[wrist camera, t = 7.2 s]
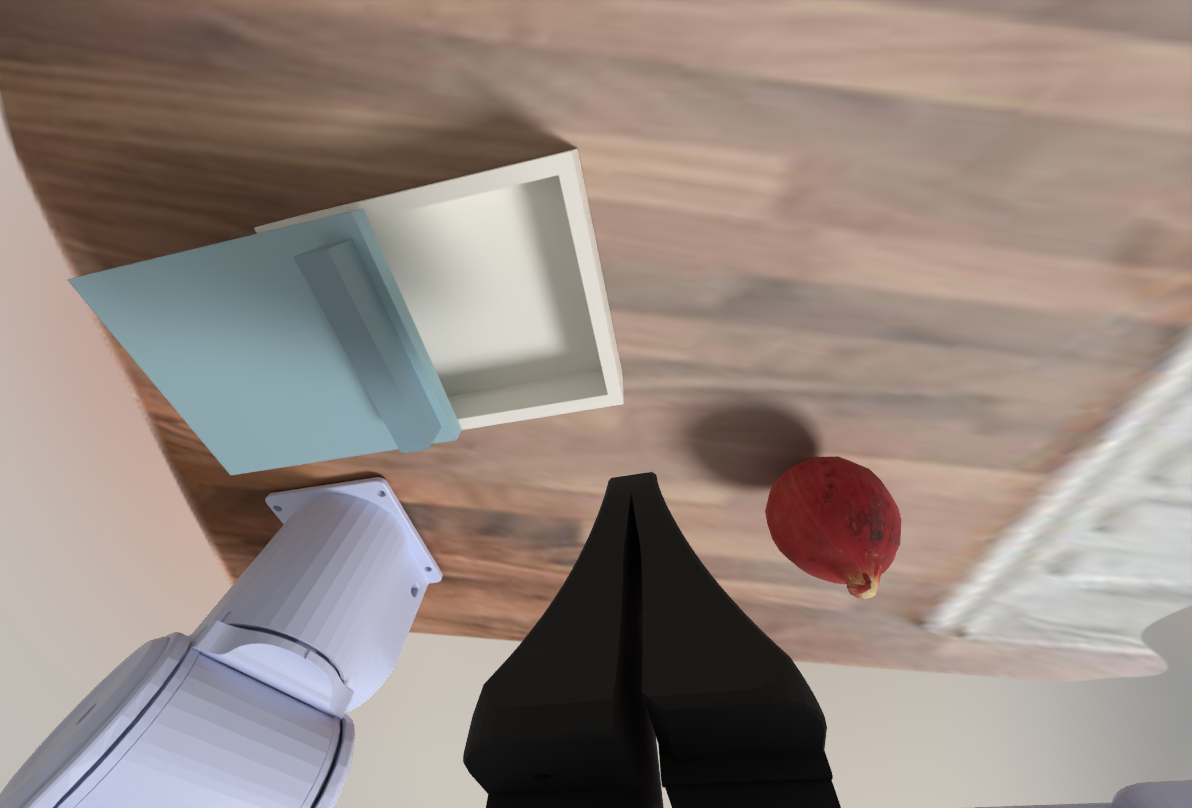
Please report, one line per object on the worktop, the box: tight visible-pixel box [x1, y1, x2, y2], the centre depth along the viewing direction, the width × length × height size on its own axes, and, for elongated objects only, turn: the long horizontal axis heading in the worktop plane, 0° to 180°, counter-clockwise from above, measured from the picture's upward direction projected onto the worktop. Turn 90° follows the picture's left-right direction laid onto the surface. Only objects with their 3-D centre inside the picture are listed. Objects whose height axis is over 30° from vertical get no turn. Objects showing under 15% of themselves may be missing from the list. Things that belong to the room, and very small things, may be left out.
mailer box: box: [254, 148, 624, 430], centre depth 19 cm, size 10×12×3 cm
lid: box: [68, 208, 462, 475], centre depth 18 cm, size 10×12×2 cm
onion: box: [765, 457, 901, 600], centre depth 22 cm, size 6×6×8 cm
